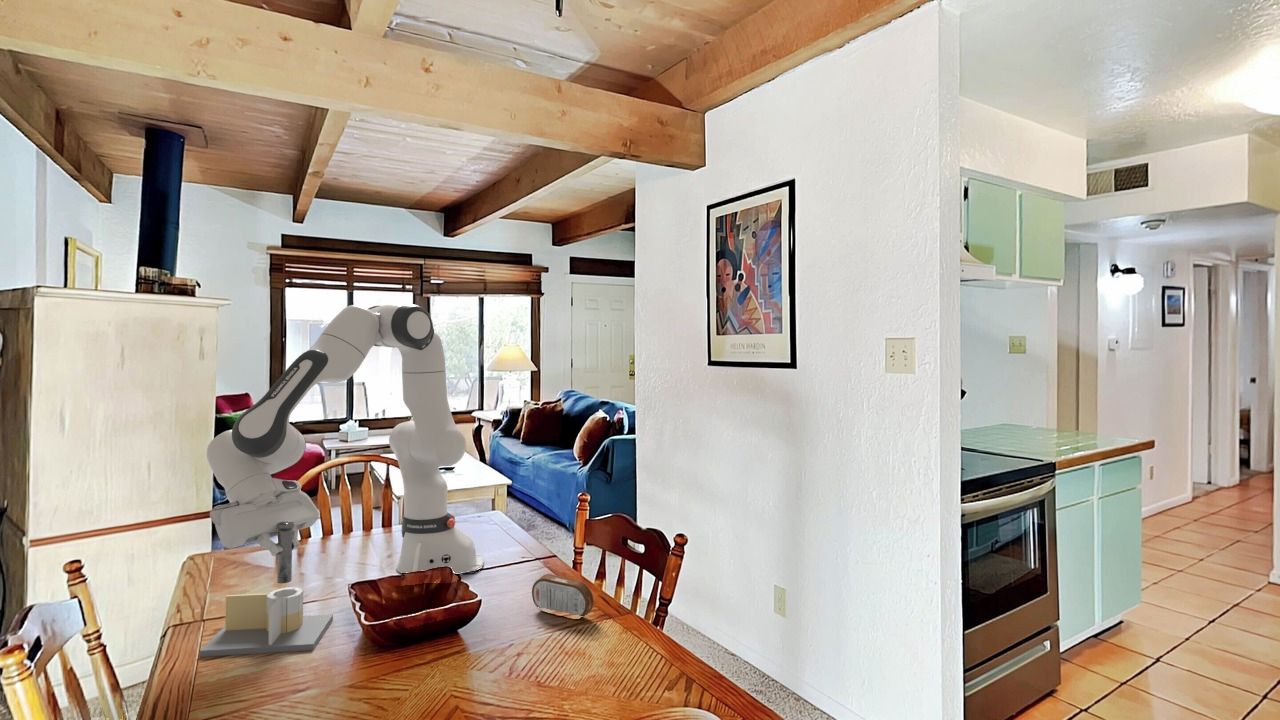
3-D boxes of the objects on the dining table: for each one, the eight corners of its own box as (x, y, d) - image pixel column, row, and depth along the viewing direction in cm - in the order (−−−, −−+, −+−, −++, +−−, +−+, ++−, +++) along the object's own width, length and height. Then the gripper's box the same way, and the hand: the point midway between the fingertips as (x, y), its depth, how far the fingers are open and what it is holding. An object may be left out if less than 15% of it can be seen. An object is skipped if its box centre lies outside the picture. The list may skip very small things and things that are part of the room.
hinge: (332, 620, 141) (333, 582, 141) (313, 650, 127) (313, 608, 127) (231, 625, 137) (231, 586, 137) (199, 657, 123) (200, 614, 123)
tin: (593, 619, 145) (594, 581, 144) (586, 624, 142) (587, 586, 142) (537, 606, 151) (537, 570, 151) (529, 611, 148) (530, 574, 148)
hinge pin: (295, 578, 136) (296, 521, 136) (290, 583, 133) (291, 525, 133) (278, 578, 135) (279, 521, 135) (273, 584, 132) (274, 525, 132)
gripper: (213, 498, 127) (246, 555, 123) (305, 480, 146) (336, 529, 142) (198, 518, 129) (230, 575, 125) (291, 497, 148) (321, 546, 144)
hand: (287, 550), depth 134 cm, fingers closed on hinge pin, 3 cm apart
